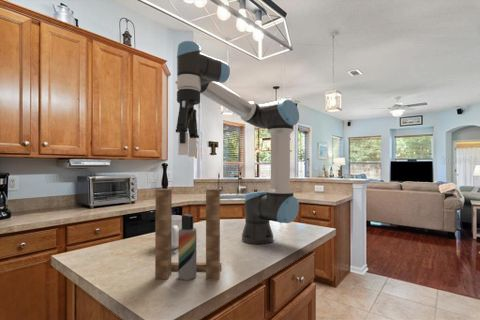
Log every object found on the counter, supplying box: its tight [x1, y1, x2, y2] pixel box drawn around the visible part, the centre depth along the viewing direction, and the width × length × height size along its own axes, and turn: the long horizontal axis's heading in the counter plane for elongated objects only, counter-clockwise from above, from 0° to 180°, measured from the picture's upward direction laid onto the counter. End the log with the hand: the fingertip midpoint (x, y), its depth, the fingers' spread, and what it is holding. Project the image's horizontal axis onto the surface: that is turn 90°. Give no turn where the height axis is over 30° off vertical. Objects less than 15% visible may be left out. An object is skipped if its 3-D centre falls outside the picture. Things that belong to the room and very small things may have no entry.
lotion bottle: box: [177, 213, 197, 281], centre depth 86 cm, size 6×6×20 cm
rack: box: [154, 188, 222, 281], centre depth 88 cm, size 20×9×28 cm, turn 89°
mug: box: [172, 214, 183, 250], centre depth 115 cm, size 15×11×13 cm
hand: (188, 155), depth 87 cm, fingers open, 13 cm apart
